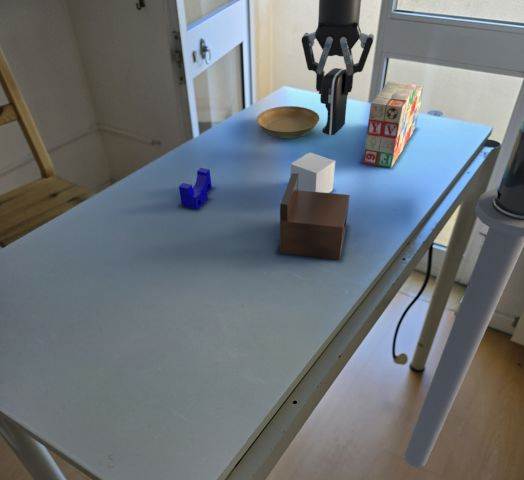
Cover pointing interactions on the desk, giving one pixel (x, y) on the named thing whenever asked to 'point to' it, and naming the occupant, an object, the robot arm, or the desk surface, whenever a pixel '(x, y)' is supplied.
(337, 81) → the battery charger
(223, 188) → the desk surface
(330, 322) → the desk surface
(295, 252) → the brown boxy piece
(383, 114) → the stack of blocks
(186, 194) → the cable holder
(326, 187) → the white cube
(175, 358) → the desk surface
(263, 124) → the plant saucer
